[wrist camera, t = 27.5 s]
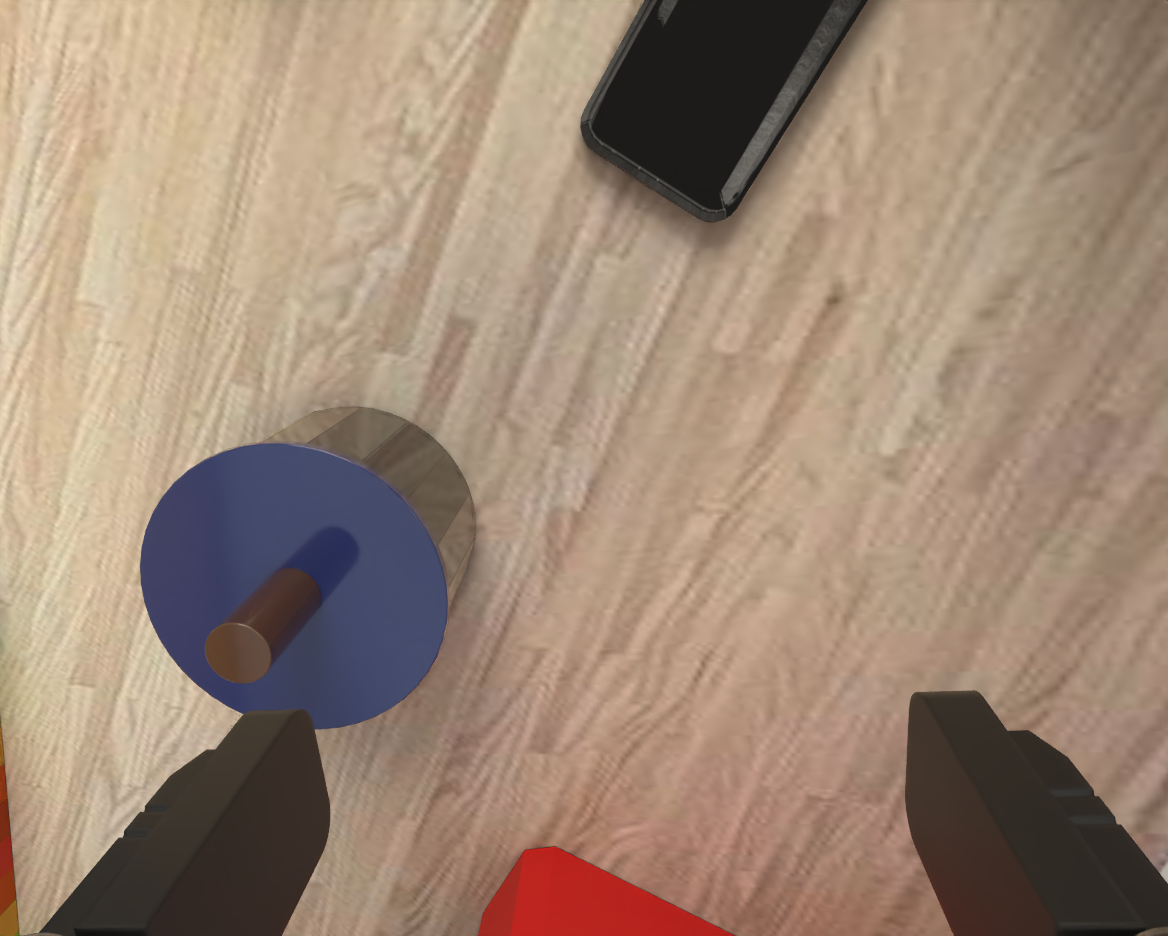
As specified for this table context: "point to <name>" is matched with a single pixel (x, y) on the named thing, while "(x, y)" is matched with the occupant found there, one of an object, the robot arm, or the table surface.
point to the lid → (295, 583)
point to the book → (580, 903)
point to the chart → (6, 862)
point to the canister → (400, 471)
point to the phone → (710, 92)
